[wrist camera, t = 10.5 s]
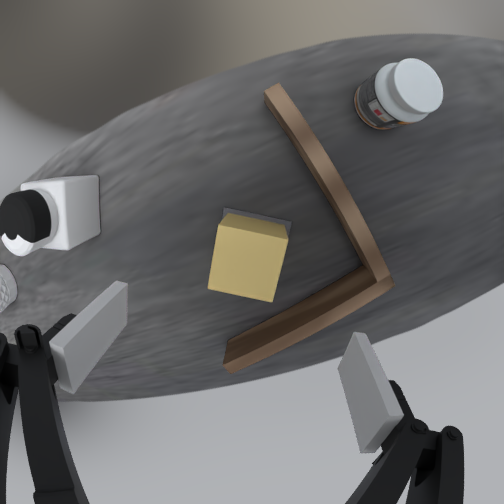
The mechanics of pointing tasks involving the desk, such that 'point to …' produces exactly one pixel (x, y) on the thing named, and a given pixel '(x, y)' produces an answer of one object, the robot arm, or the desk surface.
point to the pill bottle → (399, 94)
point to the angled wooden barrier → (338, 293)
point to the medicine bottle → (51, 214)
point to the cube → (248, 257)
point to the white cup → (7, 287)
